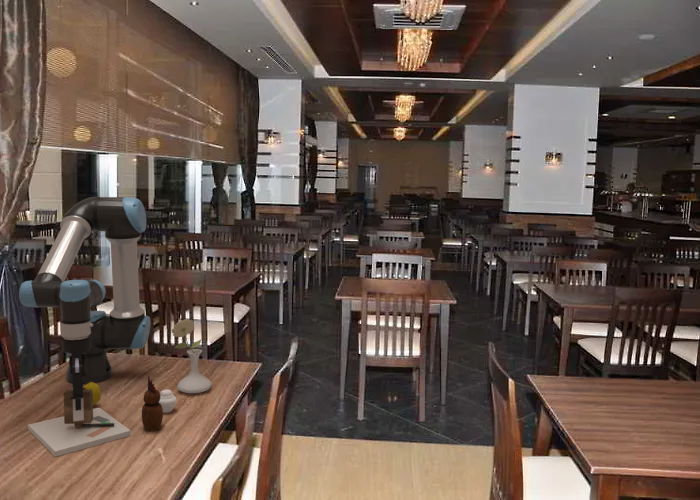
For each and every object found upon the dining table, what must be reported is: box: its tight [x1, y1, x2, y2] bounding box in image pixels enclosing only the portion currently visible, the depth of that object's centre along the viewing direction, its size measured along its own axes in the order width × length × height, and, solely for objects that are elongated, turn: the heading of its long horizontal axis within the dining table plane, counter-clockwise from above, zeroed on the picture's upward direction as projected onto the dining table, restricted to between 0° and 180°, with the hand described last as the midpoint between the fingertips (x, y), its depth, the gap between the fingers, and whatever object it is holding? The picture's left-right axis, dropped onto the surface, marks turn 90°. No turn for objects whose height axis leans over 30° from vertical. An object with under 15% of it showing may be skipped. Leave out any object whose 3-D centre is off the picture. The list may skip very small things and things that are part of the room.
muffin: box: [159, 389, 178, 414], centre depth 189 cm, size 6×6×7 cm
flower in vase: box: [171, 318, 212, 394], centre depth 206 cm, size 13×11×25 cm
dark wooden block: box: [63, 389, 114, 428], centre depth 172 cm, size 2×13×10 cm, turn 97°
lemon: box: [83, 382, 102, 406], centre depth 191 cm, size 6×6×8 cm
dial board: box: [27, 407, 132, 458], centre depth 173 cm, size 20×22×2 cm
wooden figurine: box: [141, 375, 164, 431], centre depth 176 cm, size 7×6×15 cm
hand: (78, 417), depth 172 cm, fingers closed on dark wooden block, 3 cm apart
